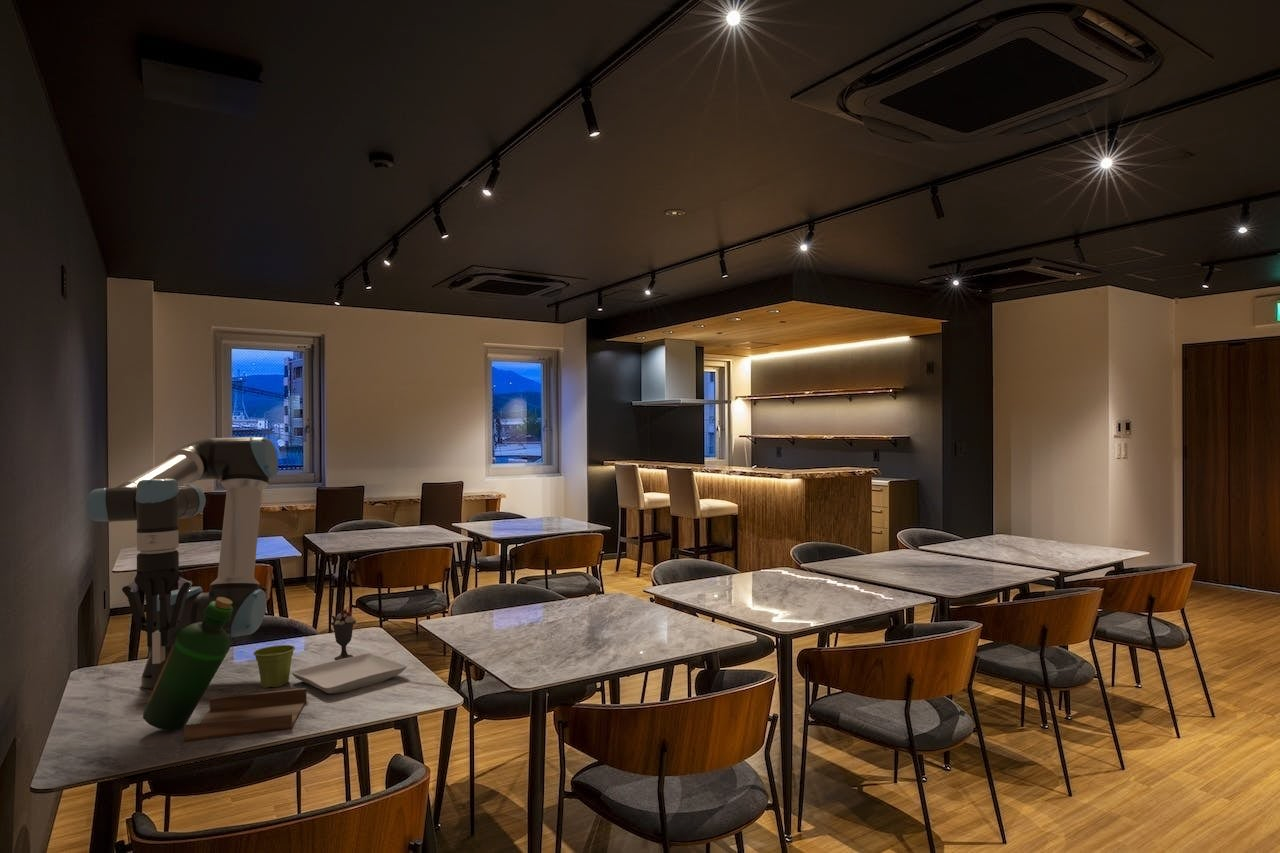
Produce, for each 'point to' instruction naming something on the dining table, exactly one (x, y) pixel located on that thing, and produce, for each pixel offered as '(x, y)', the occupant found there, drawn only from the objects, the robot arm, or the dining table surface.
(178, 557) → the robot arm
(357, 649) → the dining table surface
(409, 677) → the dining table surface
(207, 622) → the bottle
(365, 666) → the salad plate
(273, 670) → the plant pot
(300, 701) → the cradle
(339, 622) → the sundae
